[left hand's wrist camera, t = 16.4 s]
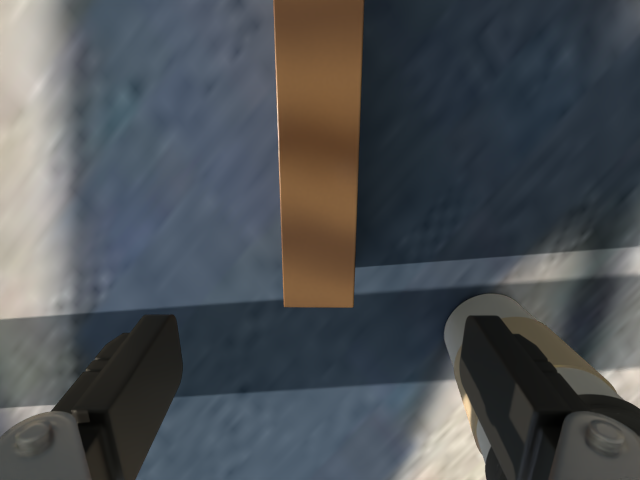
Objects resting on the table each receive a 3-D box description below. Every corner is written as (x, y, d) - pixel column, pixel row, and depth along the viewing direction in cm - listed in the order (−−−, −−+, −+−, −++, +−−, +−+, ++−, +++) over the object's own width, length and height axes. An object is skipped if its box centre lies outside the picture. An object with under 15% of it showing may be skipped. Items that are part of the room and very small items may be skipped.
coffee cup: (561, 297, 33) (739, 458, 19) (511, 385, 36) (632, 580, 22) (455, 269, 32) (558, 414, 18) (414, 361, 35) (474, 547, 21)
